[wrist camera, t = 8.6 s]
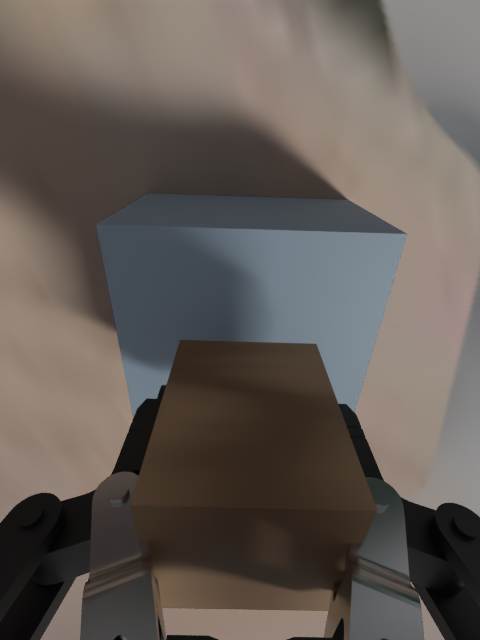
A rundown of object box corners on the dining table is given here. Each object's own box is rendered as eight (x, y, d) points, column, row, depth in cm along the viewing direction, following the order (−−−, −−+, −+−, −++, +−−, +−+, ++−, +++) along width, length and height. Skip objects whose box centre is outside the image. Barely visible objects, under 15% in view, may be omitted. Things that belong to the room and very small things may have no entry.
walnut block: (187, 433, 14) (155, 607, 9) (180, 339, 12) (129, 505, 6) (299, 436, 14) (333, 611, 9) (316, 343, 12) (377, 510, 6)
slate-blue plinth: (166, 354, 25) (137, 437, 18) (148, 192, 19) (95, 224, 12) (316, 358, 25) (345, 442, 18) (346, 199, 19) (407, 234, 12)
